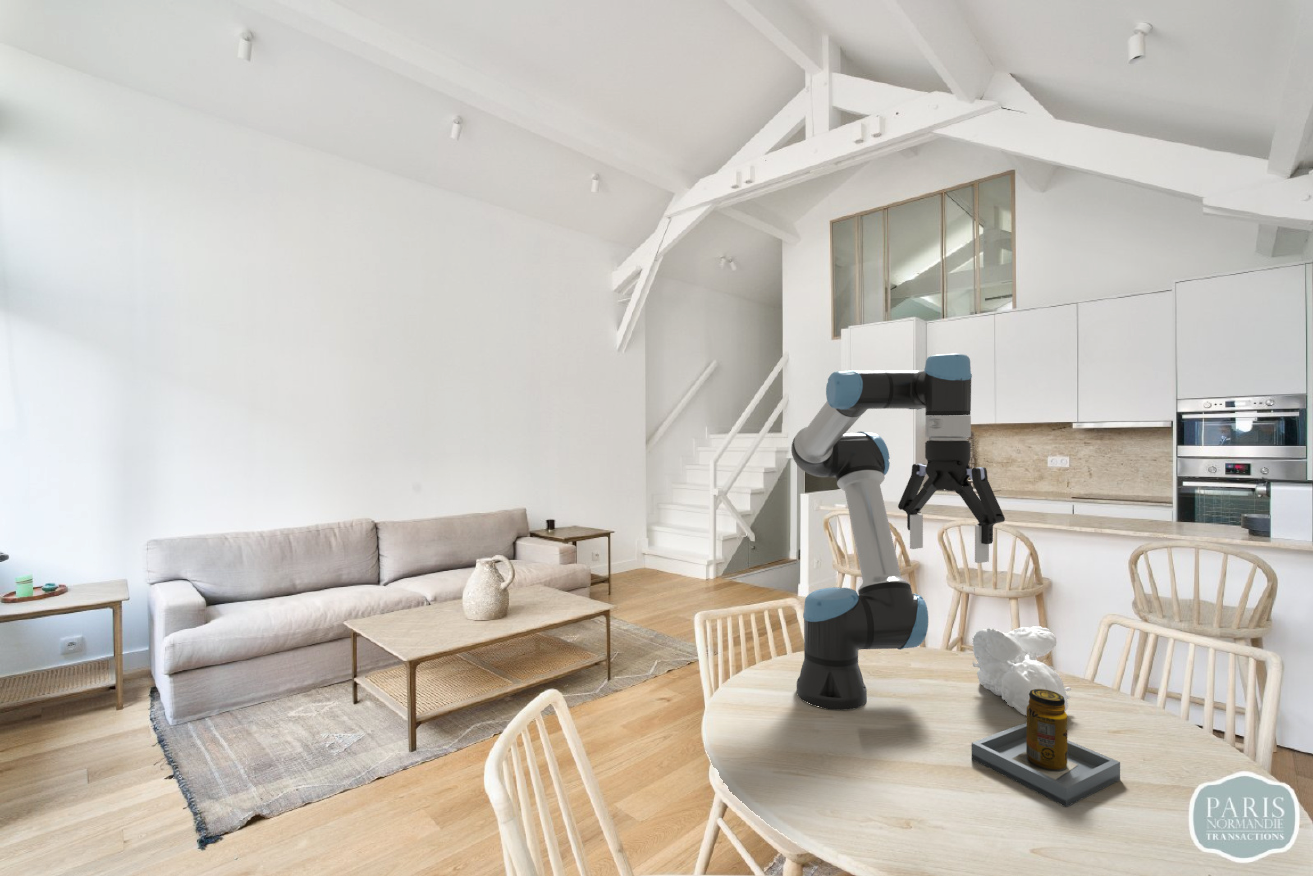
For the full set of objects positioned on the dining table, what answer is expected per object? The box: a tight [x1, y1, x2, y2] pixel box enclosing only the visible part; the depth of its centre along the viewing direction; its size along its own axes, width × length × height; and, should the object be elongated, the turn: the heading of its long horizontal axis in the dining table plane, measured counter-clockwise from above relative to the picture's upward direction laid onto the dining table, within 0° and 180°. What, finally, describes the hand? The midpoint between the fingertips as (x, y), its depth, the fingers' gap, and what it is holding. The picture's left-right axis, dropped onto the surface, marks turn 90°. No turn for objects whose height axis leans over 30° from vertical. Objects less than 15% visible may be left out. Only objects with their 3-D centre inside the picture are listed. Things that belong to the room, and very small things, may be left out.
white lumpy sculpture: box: [972, 625, 1072, 717], centre depth 133 cm, size 19×20×20 cm
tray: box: [971, 722, 1121, 808], centre depth 106 cm, size 16×16×3 cm
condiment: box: [1012, 689, 1078, 780], centre depth 106 cm, size 7×8×12 cm
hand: (947, 554), depth 112 cm, fingers open, 13 cm apart
